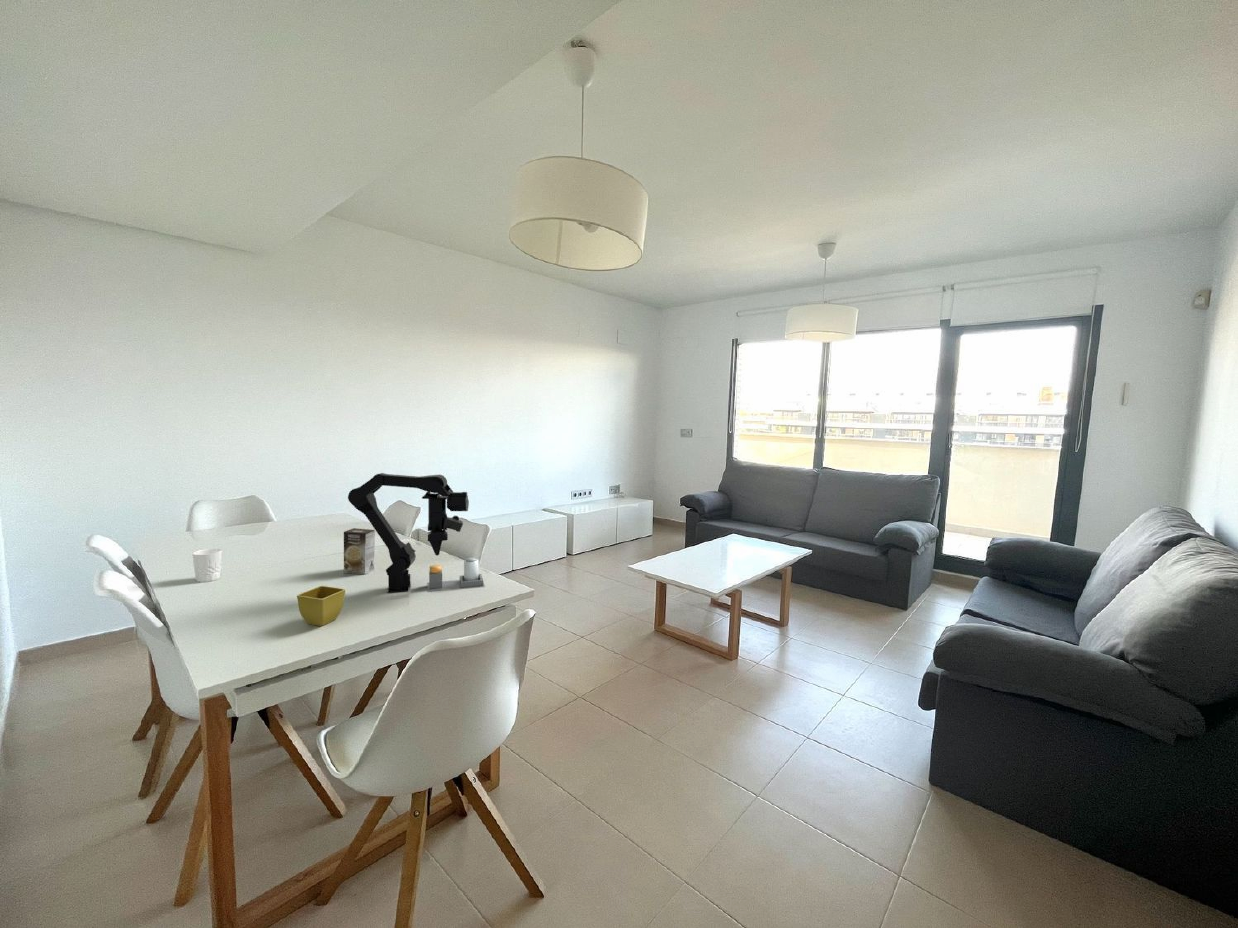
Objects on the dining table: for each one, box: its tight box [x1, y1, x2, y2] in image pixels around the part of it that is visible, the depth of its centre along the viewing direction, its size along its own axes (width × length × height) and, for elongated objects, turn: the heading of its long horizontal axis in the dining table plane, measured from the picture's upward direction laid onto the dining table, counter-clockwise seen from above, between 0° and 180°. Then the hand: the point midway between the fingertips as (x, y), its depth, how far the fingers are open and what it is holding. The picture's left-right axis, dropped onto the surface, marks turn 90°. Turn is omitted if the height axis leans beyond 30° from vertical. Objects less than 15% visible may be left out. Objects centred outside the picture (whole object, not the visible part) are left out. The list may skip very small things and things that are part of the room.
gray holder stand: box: [426, 570, 486, 593], centre depth 171 cm, size 19×10×6 cm, turn 112°
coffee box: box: [343, 527, 376, 575], centre depth 184 cm, size 9×6×16 cm
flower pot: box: [296, 585, 346, 627], centre depth 138 cm, size 9×9×9 cm
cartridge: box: [463, 557, 479, 581], centre depth 172 cm, size 5×5×9 cm
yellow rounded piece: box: [429, 564, 443, 573], centre depth 168 cm, size 4×4×6 cm
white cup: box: [192, 548, 223, 583], centre depth 170 cm, size 8×8×10 cm
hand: (437, 555), depth 168 cm, fingers closed
